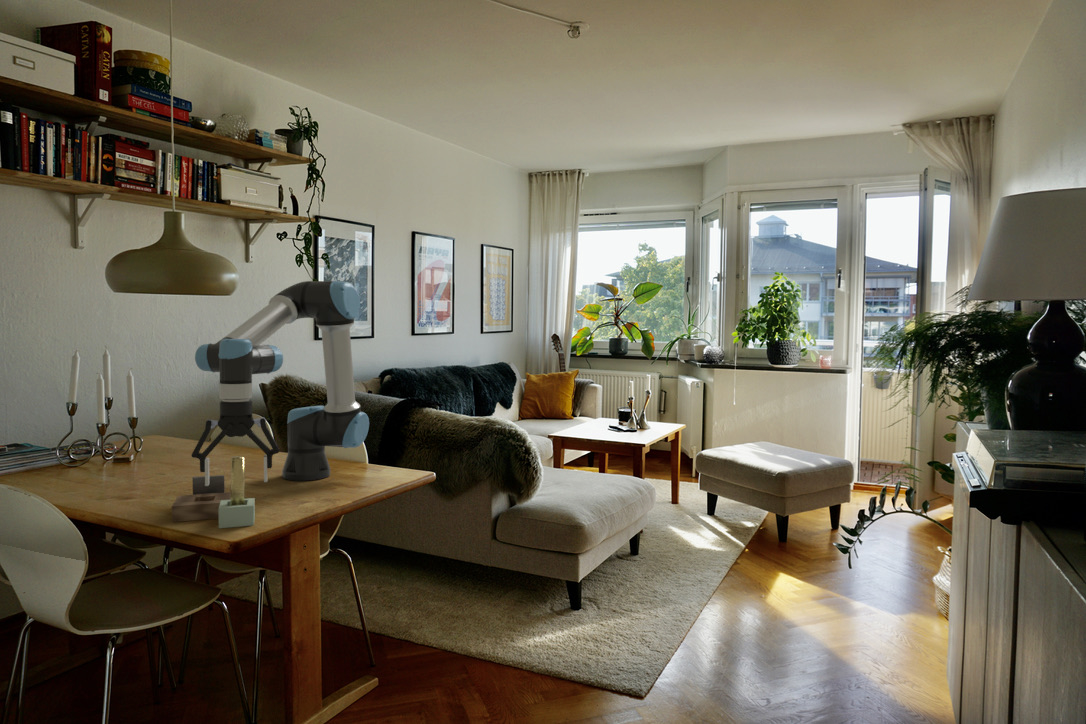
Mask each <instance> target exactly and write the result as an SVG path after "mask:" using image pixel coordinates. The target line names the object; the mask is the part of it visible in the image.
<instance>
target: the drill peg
mask: <svg viewBox="0 0 1086 724" xmlns="http://www.w3.org/2000/svg"><path fill="white" fill-rule="evenodd" d="M245 463H246V456H244V455H243V456H242V455H235V456H231V457H230V492H231V506H236V505H244V499H245V487H246V486H245V479H246V477H245V475H246V474H245V473H246V470H245V468H246V467H245V466H246V464H245Z"/></svg>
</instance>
